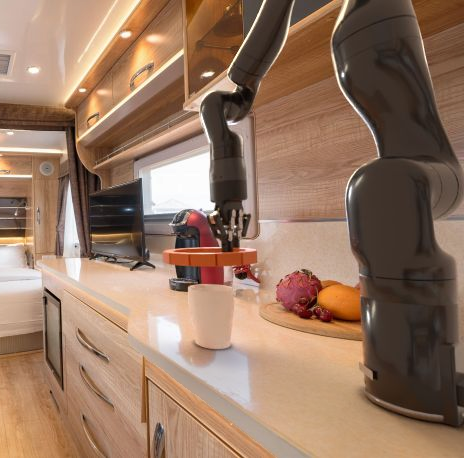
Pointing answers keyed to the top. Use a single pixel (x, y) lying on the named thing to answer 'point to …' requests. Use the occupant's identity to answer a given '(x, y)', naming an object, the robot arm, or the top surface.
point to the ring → (210, 257)
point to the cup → (211, 314)
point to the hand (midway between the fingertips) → (231, 257)
